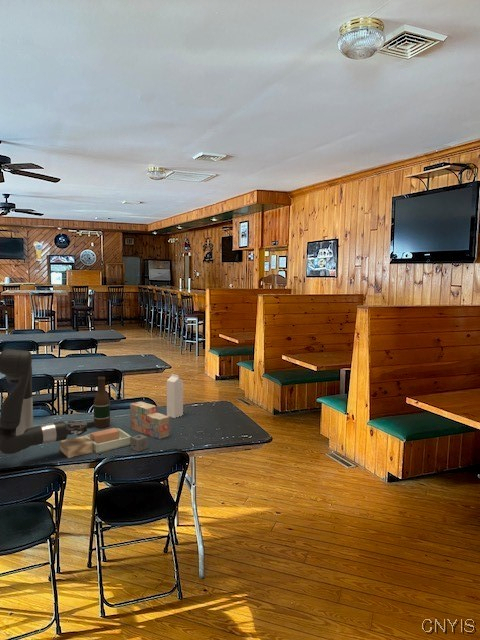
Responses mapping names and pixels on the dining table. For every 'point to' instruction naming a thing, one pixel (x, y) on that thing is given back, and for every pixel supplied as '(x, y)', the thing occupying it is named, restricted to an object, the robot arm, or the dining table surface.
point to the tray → (111, 442)
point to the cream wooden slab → (76, 446)
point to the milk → (174, 396)
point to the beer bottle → (101, 405)
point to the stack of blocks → (149, 420)
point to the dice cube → (139, 442)
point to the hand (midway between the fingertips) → (94, 424)
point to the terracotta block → (105, 435)
